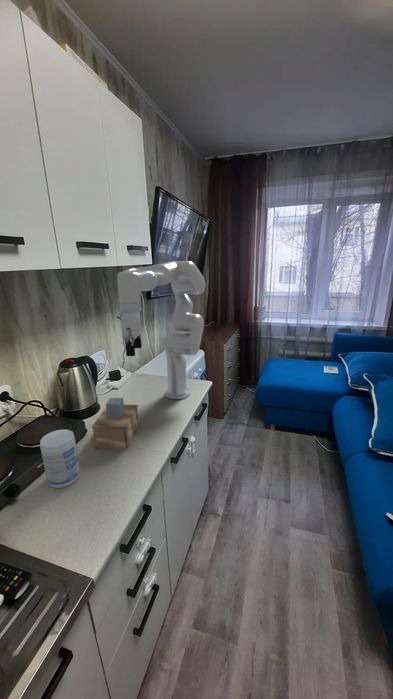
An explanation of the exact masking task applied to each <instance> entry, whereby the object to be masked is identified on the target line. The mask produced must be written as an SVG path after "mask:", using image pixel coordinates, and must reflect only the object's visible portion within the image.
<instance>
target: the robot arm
mask: <svg viewBox="0 0 393 699" xmlns="http://www.w3.org/2000/svg"><path fill="white" fill-rule="evenodd" d="M116 277H117V280H116V281H117V290H118V298H119V299H118V300H119V310H120V311H119V312H121V319H120V320H121V338H122V339H123V340H124V346H125V356H126V357H136V349H141V348H142V346H143V345H142V335H141V333H142V324H141V314H140V312H141V311H142V300H141V292H142V291H143V292H149V291H152V290H154V289H155V288H156V287H157V286H164V285H167V284H171V286H170V287H171V289H172V292H173V295H174V298H175V306H174V307H175V308H174V313H173V317H172V321H171V329H172V330H173V331H174V332H176V333H170V334H167V335H165V337H164V339H163V347H164V348H163V349H164V352H165V355H166V356H165V357H166V372H167V373H166V374H167V376H166V377H167V390H165V391H164V394H165V398H167V399H172V400H182V399H186V398H188V397H189V396H190V394H191V393H190V389H189V388H188V387H187V386H188V384H187V362H186V357H185V356H196V355H197V354H198V352H199V351H200V347H201V342H202V338H203V332H204V326H205V321H204V320H205V319H204V318H203V316H202V315H201V314H198V313H193V309H194V308H193V306H194V305H193V304H194V303H193V301H192V299H191V297H190V296H189V295H201V294H203V293H204V292H205V291H206V290H205V289H206V281H205V278H204V276H203V275H202V273H201V271H200V270H199V268H198V266H197V265H196V264H195V263H194V262H193V261H191V260H174V261H169V262H164V263H159V264H153V265H147V266H141V267H135V268H130V269H129V268H128V269H126V270H124V271H120V272H118V273H117V276H116ZM180 333H185V334H180ZM188 334H189V335H188Z"/></svg>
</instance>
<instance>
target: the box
mask: <svg viewBox="0 0 393 699" xmlns="http://www.w3.org/2000/svg"><path fill="white" fill-rule="evenodd" d="M138 414H139V413H138V409H137V410H136V412H135V414H134V415H133V417H132V419H131V421H130V423H129V425H128V427H127V429H126V430H120V429H92V432H93V441H94V442H93V443H94V447H95V449H111V450H112V449H114V450H115V449H119V450H128V449H129V447H130V445H131V442H132V441H133V438H134V435H135V434H136V431H137V429H138V427H139V425H140V423H139V416H138Z"/></svg>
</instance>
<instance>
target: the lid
mask: <svg viewBox="0 0 393 699" xmlns="http://www.w3.org/2000/svg"><path fill="white" fill-rule="evenodd" d="M138 407H139V406H138V404H124V411H125V412H124V414H123V416H122V417H121V419H109V418H107V410H106V407H105V408H104V409H103V410H102V412H101V413H100V414H99V416H98V417H97V419H96V420H95V422H93V424H92V426H91V429H92V430H93V429H120V430H126V429H127V427H128V425H129V423H130V421H131V419H132V417H133V415H134V414H135V412H136V410H137V411H138Z"/></svg>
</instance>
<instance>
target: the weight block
mask: <svg viewBox="0 0 393 699" xmlns="http://www.w3.org/2000/svg"><path fill="white" fill-rule="evenodd" d="M124 405H125V402H124V398H123V397H110V398H109V399H108V401H107V402H106V403H105V408H106V410H107V418H109V419H121V417H122V416H123V414H124V412H125V411H124Z"/></svg>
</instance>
